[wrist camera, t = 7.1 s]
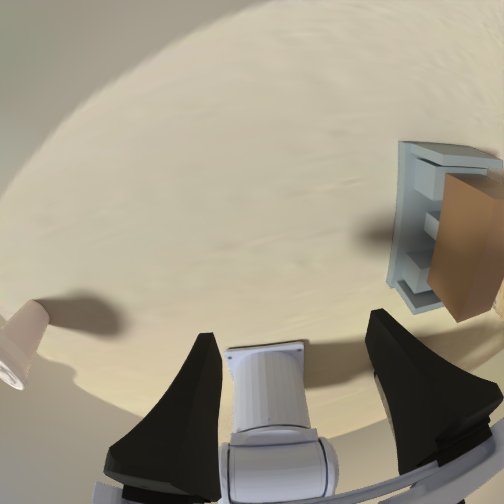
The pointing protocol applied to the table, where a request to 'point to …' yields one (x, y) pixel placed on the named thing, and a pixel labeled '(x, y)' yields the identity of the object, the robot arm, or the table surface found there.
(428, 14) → the table surface
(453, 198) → the brown rectangular block
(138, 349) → the table surface
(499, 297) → the supplement box
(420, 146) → the display stand
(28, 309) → the smoothie
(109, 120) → the table surface
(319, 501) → the robot arm
